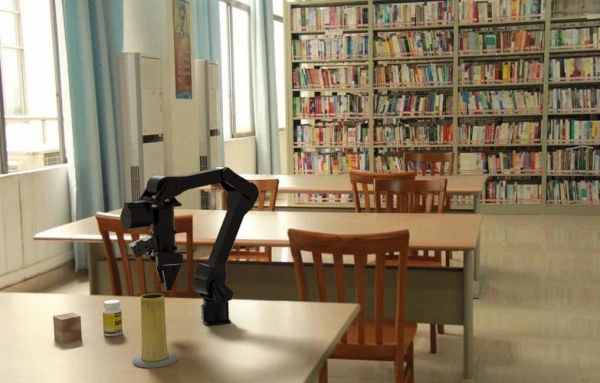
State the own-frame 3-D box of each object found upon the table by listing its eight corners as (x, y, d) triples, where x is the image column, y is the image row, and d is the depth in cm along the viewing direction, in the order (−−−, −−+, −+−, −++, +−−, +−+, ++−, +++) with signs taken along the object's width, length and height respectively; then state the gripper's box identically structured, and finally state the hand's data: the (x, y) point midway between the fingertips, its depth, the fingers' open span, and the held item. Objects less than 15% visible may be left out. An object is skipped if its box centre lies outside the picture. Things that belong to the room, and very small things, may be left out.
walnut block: (73, 335, 190) (72, 312, 189) (81, 339, 186) (80, 315, 186) (54, 339, 187) (53, 315, 186) (62, 343, 183) (61, 319, 182)
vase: (170, 353, 171) (168, 292, 170) (166, 361, 165) (163, 298, 164) (144, 353, 171) (141, 292, 170) (138, 362, 165) (135, 299, 164)
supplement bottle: (117, 336, 187) (116, 304, 187) (100, 336, 188) (98, 303, 188) (125, 331, 192) (124, 299, 191) (108, 330, 193) (107, 299, 192)
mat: (173, 351, 175) (173, 349, 175) (181, 364, 165) (181, 361, 165) (129, 357, 171) (129, 354, 171) (135, 370, 162) (135, 367, 162)
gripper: (125, 223, 193) (128, 282, 195) (135, 233, 176) (138, 297, 177) (168, 220, 197) (170, 278, 199) (182, 229, 180) (185, 293, 181)
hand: (165, 286), depth 189 cm, fingers open, 9 cm apart
